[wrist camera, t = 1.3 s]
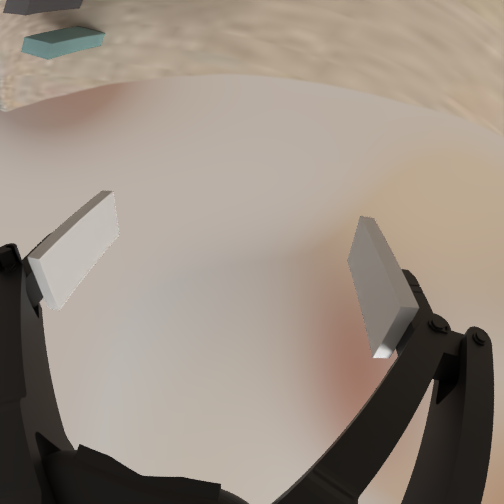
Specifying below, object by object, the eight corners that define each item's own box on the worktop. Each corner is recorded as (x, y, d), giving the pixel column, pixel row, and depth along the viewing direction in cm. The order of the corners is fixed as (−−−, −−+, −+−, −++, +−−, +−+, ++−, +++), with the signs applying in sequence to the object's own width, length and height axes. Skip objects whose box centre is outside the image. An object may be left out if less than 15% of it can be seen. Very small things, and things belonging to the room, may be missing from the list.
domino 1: (60, -7, 19) (7, -1, 12) (84, -4, 21) (30, 0, 13) (56, 4, 21) (3, 12, 13) (79, 8, 22) (25, 15, 14)
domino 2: (78, 26, 24) (24, 37, 16) (105, 33, 25) (52, 43, 18) (74, 38, 25) (21, 51, 17) (100, 45, 26) (48, 59, 19)
